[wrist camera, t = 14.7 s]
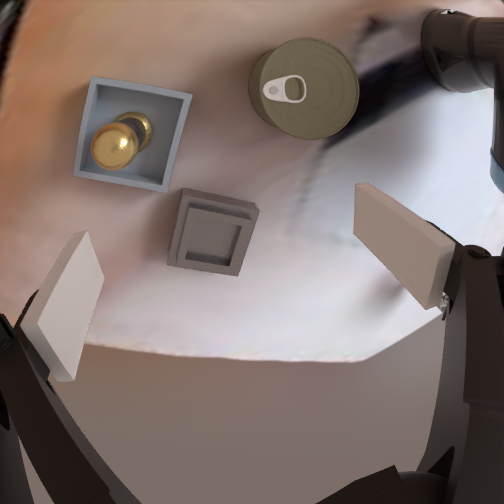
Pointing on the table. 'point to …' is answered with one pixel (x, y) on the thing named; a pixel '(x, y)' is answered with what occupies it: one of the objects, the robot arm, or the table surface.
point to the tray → (160, 146)
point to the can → (305, 88)
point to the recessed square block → (211, 232)
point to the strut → (121, 140)
